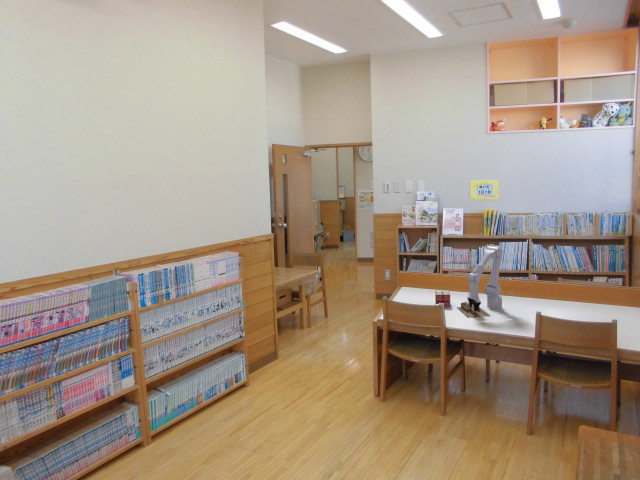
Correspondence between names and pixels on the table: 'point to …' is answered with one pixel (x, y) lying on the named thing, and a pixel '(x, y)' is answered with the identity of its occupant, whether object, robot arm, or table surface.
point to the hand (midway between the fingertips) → (474, 309)
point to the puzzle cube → (442, 298)
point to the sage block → (469, 306)
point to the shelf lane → (469, 312)
